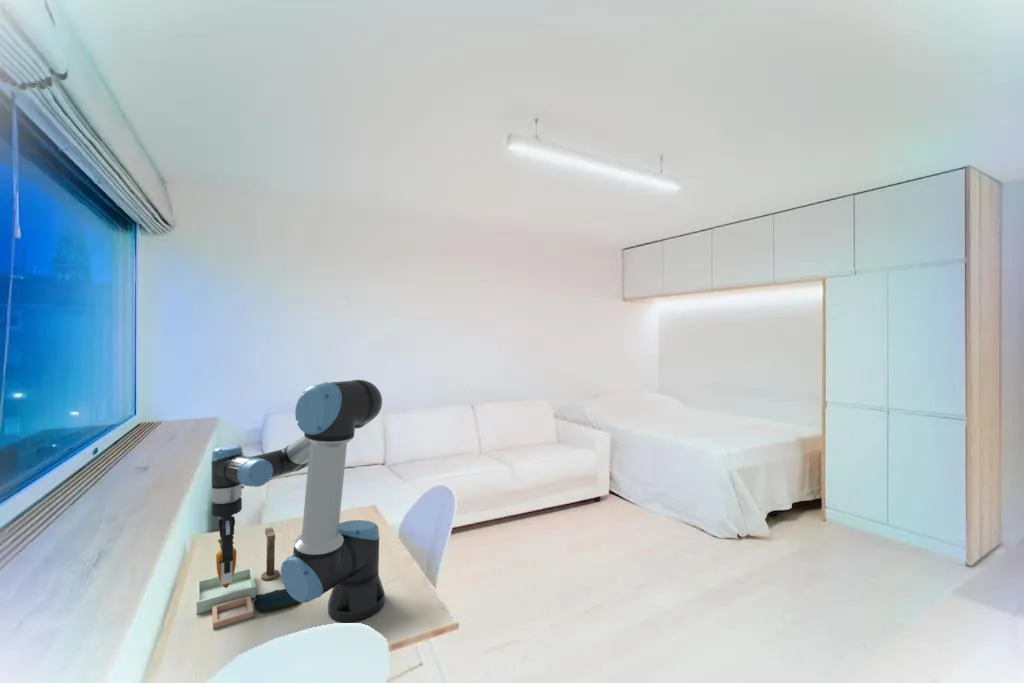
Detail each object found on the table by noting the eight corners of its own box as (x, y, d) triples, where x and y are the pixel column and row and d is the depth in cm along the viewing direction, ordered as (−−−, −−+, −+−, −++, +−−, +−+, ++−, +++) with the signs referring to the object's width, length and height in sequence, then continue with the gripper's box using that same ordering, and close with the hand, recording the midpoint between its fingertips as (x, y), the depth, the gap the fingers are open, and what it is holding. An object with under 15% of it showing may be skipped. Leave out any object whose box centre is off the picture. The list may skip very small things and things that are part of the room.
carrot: (211, 591, 128) (212, 539, 128) (225, 582, 133) (226, 532, 133) (226, 593, 127) (227, 541, 127) (240, 584, 132) (240, 533, 132)
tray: (255, 597, 129) (255, 586, 129) (196, 614, 121) (196, 602, 121) (251, 577, 140) (251, 567, 140) (196, 591, 132) (196, 581, 132)
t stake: (280, 577, 140) (280, 534, 140) (262, 582, 137) (262, 538, 137) (277, 567, 146) (277, 526, 146) (259, 571, 143) (260, 529, 143)
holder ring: (253, 616, 120) (253, 611, 120) (213, 628, 115) (213, 623, 115) (250, 600, 127) (250, 595, 127) (212, 611, 122) (212, 605, 122)
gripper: (244, 506, 125) (243, 588, 125) (239, 488, 140) (238, 562, 140) (212, 511, 121) (211, 597, 121) (210, 493, 135) (210, 569, 135)
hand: (226, 578), depth 130 cm, fingers closed on carrot, 5 cm apart
